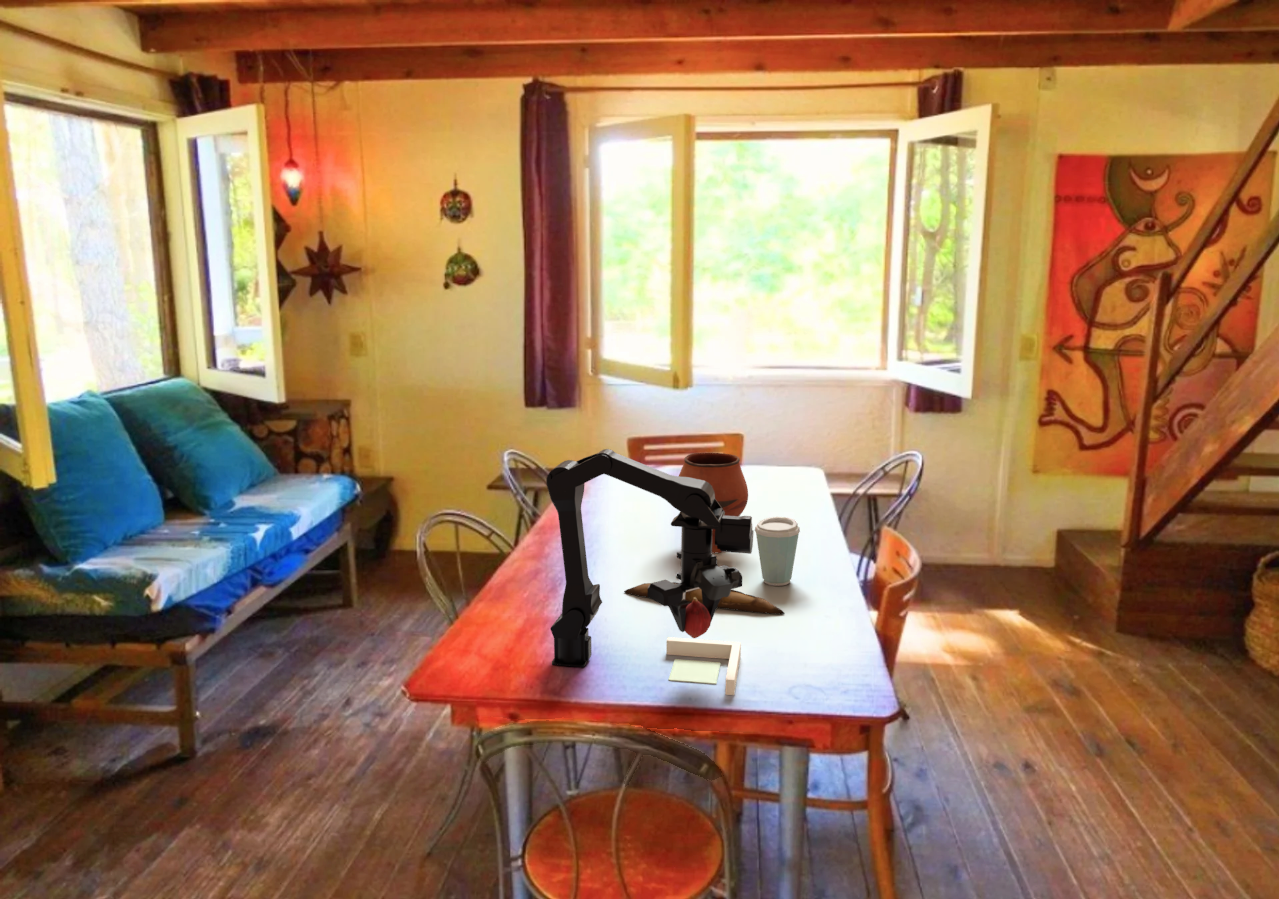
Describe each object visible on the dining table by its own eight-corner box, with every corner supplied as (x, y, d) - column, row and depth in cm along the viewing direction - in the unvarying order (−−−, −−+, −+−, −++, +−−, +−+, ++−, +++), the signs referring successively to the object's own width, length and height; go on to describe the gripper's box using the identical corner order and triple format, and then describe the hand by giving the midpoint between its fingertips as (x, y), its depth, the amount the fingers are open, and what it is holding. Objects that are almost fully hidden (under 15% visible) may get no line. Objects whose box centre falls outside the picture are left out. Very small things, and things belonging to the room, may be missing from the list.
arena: (654, 688, 175) (654, 673, 174) (667, 651, 191) (667, 637, 190) (734, 695, 172) (734, 680, 172) (740, 656, 188) (740, 642, 188)
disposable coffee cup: (784, 592, 222) (786, 531, 219) (744, 582, 228) (746, 523, 225) (805, 580, 230) (808, 520, 227) (766, 570, 237) (768, 512, 233)
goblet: (664, 541, 260) (665, 452, 254) (729, 534, 265) (731, 447, 260) (688, 563, 242) (690, 468, 236) (758, 556, 247) (760, 463, 242)
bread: (620, 598, 220) (619, 578, 219) (627, 591, 225) (627, 571, 224) (782, 620, 207) (783, 599, 206) (787, 612, 212) (787, 591, 211)
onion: (716, 638, 180) (717, 598, 179) (697, 647, 176) (698, 606, 174) (692, 629, 184) (693, 590, 182) (673, 638, 180) (674, 598, 178)
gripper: (683, 571, 165) (681, 654, 168) (763, 551, 175) (760, 630, 179) (646, 553, 174) (645, 633, 177) (724, 536, 184) (722, 611, 187)
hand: (694, 627), depth 180 cm, fingers closed on onion, 6 cm apart
